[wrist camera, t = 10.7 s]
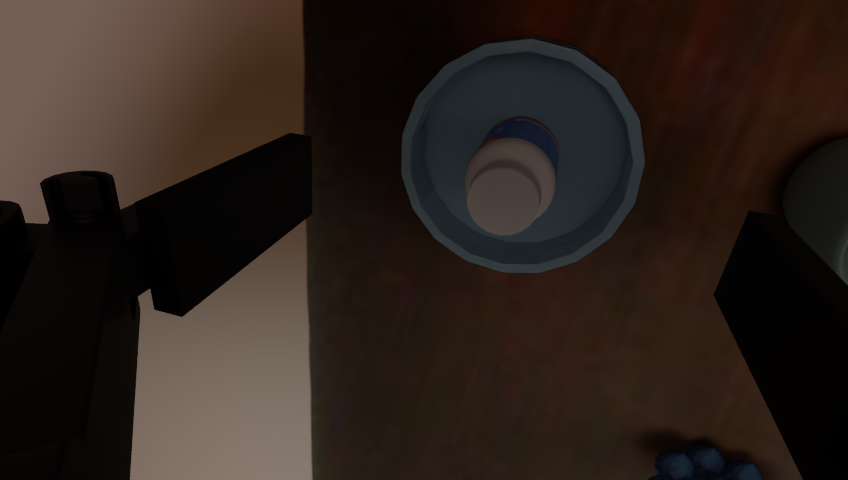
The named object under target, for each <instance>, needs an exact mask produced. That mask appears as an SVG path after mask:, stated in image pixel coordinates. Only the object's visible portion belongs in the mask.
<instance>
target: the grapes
mask: <svg viewBox="0 0 848 480" xmlns="http://www.w3.org/2000/svg"><path fill="white" fill-rule="evenodd" d="M655 469H656V471H657V473H658V475H656V476H653V477H651V478H649V479H648V480H763V477H762V475H761V473H760V471H759V469H758V468H757V467H756V466H755V465H754V464H752V463H751V462H749V461H746V460H741V459H733V460H731V461H728V462H726V464H725V465H724V461H723V458H722V456H721V454H720V453H719V452H718V451H717V450H716V449H715V448H713V447H711V446H708V445H699V444H697V445H695V446H692V447H690V448H689V449H688V451H687V452H686V454H684V453H682V452H680V451H677V450H666V451H664V452H661V453H660V454H659V455H658V457H657V458H656V459H655Z"/></svg>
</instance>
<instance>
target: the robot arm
mask: <svg viewBox="0 0 848 480" xmlns="http://www.w3.org/2000/svg"><path fill="white" fill-rule="evenodd" d="M40 185H41V189H42V192H43V196H44V200H45V204H46V207H47V211H48V215H49V218H50V220H49V222H48V224H34V223H25V220H24V216H23V213H22V210H21V207H20V206H19V204H17V203H14V202H11V201H0V480H130V467H131V451H132V435H133V417H134V403H135V387H136V371H137V356H138V340H139V339H138V338H139V323H140V306H139V301H138V296H139V295H141V294H142V293H144V292H145V291H147V290H148V289H151V294H152V300H153V305H154V309H155V310H158V311H162V312H166V313H170V314H173V315H177V316H181V317H183V316H184V315H185V314H186V313H188V312H189V311H190V310H191V309H193V308H194V307H195V306H197V305H198V304H199V303H200V302H201V301H203V300H204V299H205V298H206V297H208V296H209V295H210V294H212V293H213V292H214V291H215V290H217V289H218V288H219V287H220V286H222V285H223V284H224V283H225V282H227V281H228V280H229V279H230V278H232V277H233V276H234V275H235V274H237V273H238V272H239V271H241V270H242V269H243V268H244V267H246V266H247V265H248V264H249V263H251V262H252V261H253V260H254V259H256V258H257V257H258V256H259V255H261V254H262V253H263V252H264V251H266V250H267V249H268V248H270V247H271V246H272V245H273V244H274V243H276V242H277V241H278V240H280V239H281V238H282V237H283V236H285V235H286V234H287V233H288V232H290V231H291V230H292V229H293V228H295V227H296V226H297V225H298V224H300V223H301V222H302V221H303V220H305V219H306V218H307V217H309V216H310V215H311V214H312V151H311V136H305V135H300V134H294V133H289V134H286V135H284V136H282V137H280V138H278V139H276V140H273V141H271V142H269V143H267V144H264V145H262V146H260V147H257V148H255V149H253V150H251V151H249V152H246V153H244V154H242V155H240V156H237V157H235V158H233V159H231V160H228V161H226V162H224V163H222V164H219V165H218V166H215V167H213V168H211V169H208V170H206V171H204V172H202V173H199V174H197V175H195V176H193V177H190V178H188V179H186V180H184V181H182V182H179V183H177V184H175V185H173V186H170V187H168V188H166V189H164V190H162V191H159V192H157V193H155V194H152V195H150V196H148V197H146V198H144V199H142V200H139V201H137V202H135V203H134V204H132V205H130V206H128V207H126V208H124V209H121V210H120V207H119V202H118V197H117V192H116V187H115V182H114V178H113V176H112V175H110V174H108V173H106V172H99V171H75V172H67V173H62V174H57V175H54V176H51V177H49V178H46V179H44V180H43V181H42V182H41V183H40ZM714 297H715V299H716V301H717V303H718V305H719V307H720V309H721V311H722V314H723V316H724V318H725V320H726V322H727V324H728V326H729V328H730V330H731V332H732V334H733V336H734V338H735V340H736V342H737V344H738V346H739V349H740V351H741V353H742V355H743V357H744V359H745V361H746V363H747V365H748V367H749V369H750V371H751V373H752V375H753V377H754V379H755V382H756V384H757V386H758V388H759V390H760V392H761V394H762V396H763V398H764V400H765V402H766V404H767V406H768V408H769V410H770V412H771V414H772V417H773V419H774V421H775V423H776V425H777V427H778V429H779V431H780V433H781V435H782V437H783V439H784V441H785V443H786V445H787V447H788V450H789V452H790V454H791V456H792V458H793V460H794V462H795V464H796V466H797V468H798V470H799V472H800V474H801V476H802V478H803V480H848V285H847V284H846V283H845V282H844V281H843V280H842V279H841V278H840V277H839V276H838V275H837V274H836V273H835V272H834V271H833V270H832V269H831V268H830V267H829V266H828V265H827V264H826V263H825V262H824V261H823V260H822V259H821V257H820V256H819V255H818V254H817V253H816V252H815V251H814V250H813V249H812V248H811V247H810V246H809V245H808V244H807V243H806V242H805V241H804V240H803V239H802V238H801V237H800V236H799V235H798V234H797V233H796V232H795V231H794V230H793V229H792V228H791V227H790V226H789V225H788V224H787V223H786V222H785V221H784V220H783V219H782V218H781V217H780V216H777V215H771V214H766V213H760V212H754V211H748V214H747V216H746V219H745V221H744V223H743V226H742V228H741V231H740V233H739V235H738V238H737V240H736V242H735V245H734V247H733V250H732V252H731V254H730V257H729V259H728V262H727V264H726V266H725V269H724V271H723V273H722V276H721V278H720V281H719V283H718V285H717V288H716V290H715V293H714Z"/></svg>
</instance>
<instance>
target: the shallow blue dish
mask: <svg viewBox="0 0 848 480" xmlns="http://www.w3.org/2000/svg"><path fill="white" fill-rule="evenodd" d="M515 116H528V117H532V118H535V119H537V120H539V121H541V122H543V123H544V124H545V125H546V126H548V127H549V129H550V130H551V131H552V132H553V134H554V136H555V138H556V140H557V143H558V147H559V161H558V170H557V178H556V187H555V192H554V196H553V199H552V201H551V203H550V205H549V207H548V208H547V209H546V210H545V212H544V213H543V214H542V215H541V216H539V217H538V218H536V219H535V220H534V221H533V222H532V224H531V225H530V226H529V227H527V228H526V229H525V230H523V231H521V232H519V233H516V234H513V235H496V234H492V233H490V232H487V231H486V230H484V229H482V228H481V227H479V226H478V225H477V224H476V223H475V222H474V220H473V219H472V217H471V216H470V213H469V211H468V207H467V195H466V192H465V174H466V170H467V167H468V165H469V163H470V161H471V159H472V157H473V156H474V154H475V153H476V151H477V150H478V148H479V147H480V145H481V143H482V142H483V140H484V139H485V137H486V136H487V134H488V133H489V131H490V130H491V129H492V128H493V127H494V126H495V125H497V124H498V123H499V122H501V121H503V120H505V119H507V118H510V117H515ZM644 166H645V155H644V148H643V141H642V134H641V127H640V120H639V117H638V115H637V113H636V112H635V110H634V108H633V106H632V105H631V103H630V101H629V100H628V98H627V96H626V95H625V93H624V91H623V90H622V88H621V86H620V85H619V83H618V81H617V80H616V78H615V76H614V75H613V73H612V72H611V71H610V70H609V69H608V68H607V67H605V66H604V65H603V64H601V63H600V62H599V61H597V60H596V59H595V58H593V57H592V56H590V55H589V54H588V53H586V52H585V51H584V50H582V49H581V48H580V47H578V46H576V45H573V44H569V43H565V42H561V41H558V40H554V39H549V38H546V37H542V36H538V35H531V36H522V37H514V38H506V39H498V40H492V41H490V42H488V43H486V44H484V45H482V46H480V47H479V48H477V49H475V50H473V51H471V52H469V53H467V54H465V55H463V56H461V57H459V58H458V59H456V60H454V61H452V62H450V63H448V64H446V65H445V66H444V67H443V68H442V69H441V70H440V71H439V72H438V74H437V75H436V76H435V77H434V78H433V79H432V80H431V81H430V83H429V84H428V85H427V86H426V87H425V88H424V89H423V90H422V92H421V93H420V94H419V95H418V96H417V98H416V100H415V103H414V105H413V108H412V110H411V113H410V116H409V118H408V121H407V123H406V126H405V128H404V131H403V135H402V159H401V174H402V178H403V181H404V184H405V187H406V190H407V193H408V196H409V199H410V202H411V205H412V208H413V210H414V211H415V213H416V214H417V215H418V217H419V218H420V219H421V221H422V222H423V223H424V225H425V226H426V227H427V229H428V230H429V231H430V233H431V234H432V236H433V237H434V238H435V239H436V240H437V241H439V242H440V243H442V244H443V245H444V246H446V247H447V248H449V249H450V250H451V251H453V252H454V253H456V254H457V255H458V256H460V257H461V258H463V259H464V260H466V261H469V262H472V263H475V264H478V265H481V266H484V267H487V268H490V269H493V270H496V271H499V272H512V273H540V272H544V271H547V270H550V269H554V268H557V267H560V266H564V265H567V264H570V263H574V262H577V261H579V260H580V259H581V258H583V257H584V256H586V255H587V254H589V253H590V252H591V251H593V250H594V249H596V248H597V247H598V246H600V245H601V244H603V243H604V242H606V241H607V240H608V239H610V238H611V237H612V236H613V234H614V233H615V231H616V230H617V229H618V227H619V226H620V224H621V223H622V222H623V220H624V219H625V217H626V216H627V214H628V213H629V212H630V210H631V209H632V207H633V206H634V204H635V201H636V197H637V193H638V189H639V185H640V182H641V178H642V174H643V170H644Z"/></svg>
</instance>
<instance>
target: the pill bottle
mask: <svg viewBox="0 0 848 480" xmlns="http://www.w3.org/2000/svg"><path fill="white" fill-rule="evenodd" d="M558 161H559V147H558V143H557V140H556V138H555V136H554V134H553V132H552V131H551V130H550V129H549V127H548V126H546V125H545V124H544V123H543V122H541V121H539V120H537V119H535V118H532V117H528V116H515V117H510V118H507V119H505V120H503V121H501V122H499V123H498V124H497V125H495V126H494V127H493V128H492V129H491V130H490V131H489V133H488V134H487V136H486V137H485V139H484V140H483V142H482V143H481V145H480V147H479V148H478V150H477V151H476V153H475V154H474V156H473V157H472V159H471V161H470V163H469V165H468V167H467V170H466V174H465V192H466V195H467V207H468V211H469V213H470V216H471V217H472V219H473V220H474V222H475V223H476V224H477V225H478V226H479V227H481V228H482V229H484V230H486V231H487V232H490V233H492V234H496V235H513V234H516V233H519V232H521V231H523V230H525V229H526V228H527V227H529V226H530V225H531V224H532V222H533V221H534V220H535V219H536V218H538V217H539V216H541V215H542V214H543V213H544V212H545V210H546V209H547V208H548V207H549V205H550V203H551V201H552V199H553V196H554V192H555V187H556V178H557V170H558Z"/></svg>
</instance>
